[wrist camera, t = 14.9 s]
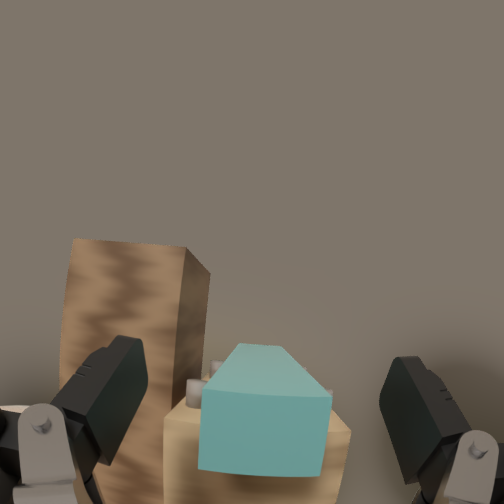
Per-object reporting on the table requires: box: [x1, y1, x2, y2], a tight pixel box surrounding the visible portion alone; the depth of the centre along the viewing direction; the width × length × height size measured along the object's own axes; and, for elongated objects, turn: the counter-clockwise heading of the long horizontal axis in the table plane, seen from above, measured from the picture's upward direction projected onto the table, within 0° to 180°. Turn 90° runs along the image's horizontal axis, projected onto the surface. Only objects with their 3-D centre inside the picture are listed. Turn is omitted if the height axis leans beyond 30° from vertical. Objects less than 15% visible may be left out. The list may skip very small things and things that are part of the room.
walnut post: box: [60, 238, 210, 504], centre depth 24 cm, size 10×12×32 cm
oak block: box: [163, 360, 351, 504], centre depth 18 cm, size 9×17×24 cm, turn 179°
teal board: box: [198, 343, 332, 477], centre depth 18 cm, size 4×20×3 cm, turn 179°
